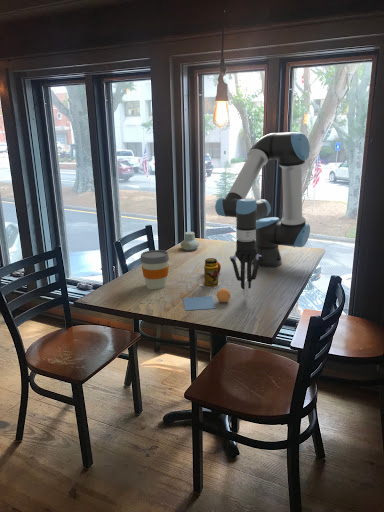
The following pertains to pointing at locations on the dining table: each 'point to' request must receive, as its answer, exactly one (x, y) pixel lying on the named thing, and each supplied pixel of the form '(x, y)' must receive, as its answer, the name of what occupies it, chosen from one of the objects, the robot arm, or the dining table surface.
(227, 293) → the ball
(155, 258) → the reusable coffee cup
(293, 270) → the dining table surface
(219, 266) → the fruit
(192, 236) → the air freshener
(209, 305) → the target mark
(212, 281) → the condiment
